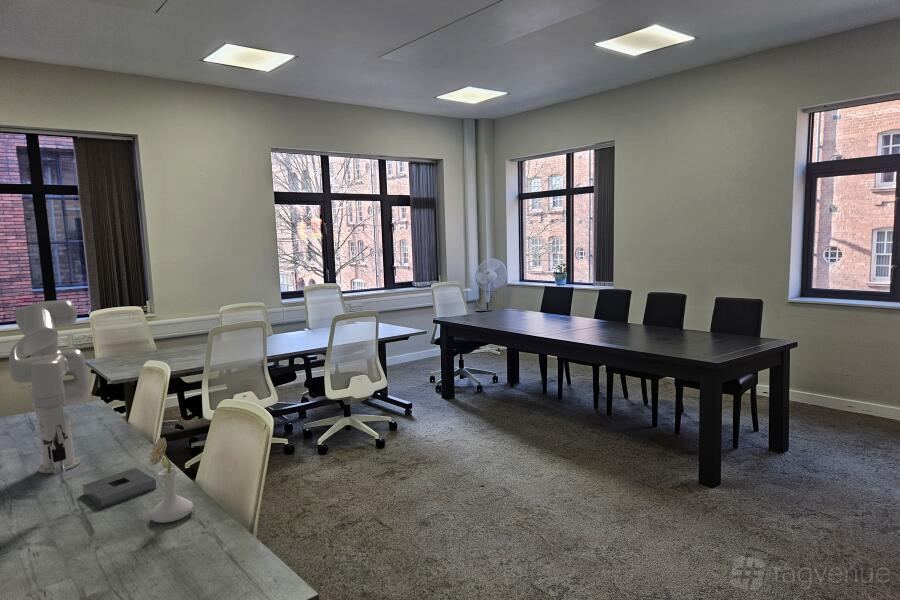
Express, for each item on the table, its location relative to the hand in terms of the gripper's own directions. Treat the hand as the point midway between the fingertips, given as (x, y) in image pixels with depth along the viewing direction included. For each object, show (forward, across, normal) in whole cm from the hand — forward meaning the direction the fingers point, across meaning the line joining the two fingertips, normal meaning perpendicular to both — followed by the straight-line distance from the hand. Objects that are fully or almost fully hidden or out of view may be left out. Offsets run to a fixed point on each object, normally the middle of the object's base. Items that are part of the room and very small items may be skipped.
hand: (57, 458), depth 166 cm
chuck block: (+16, +3, +15) cm, 22 cm away
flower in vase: (+15, +36, +17) cm, 42 cm away
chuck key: (+4, 0, 0) cm, 4 cm away
